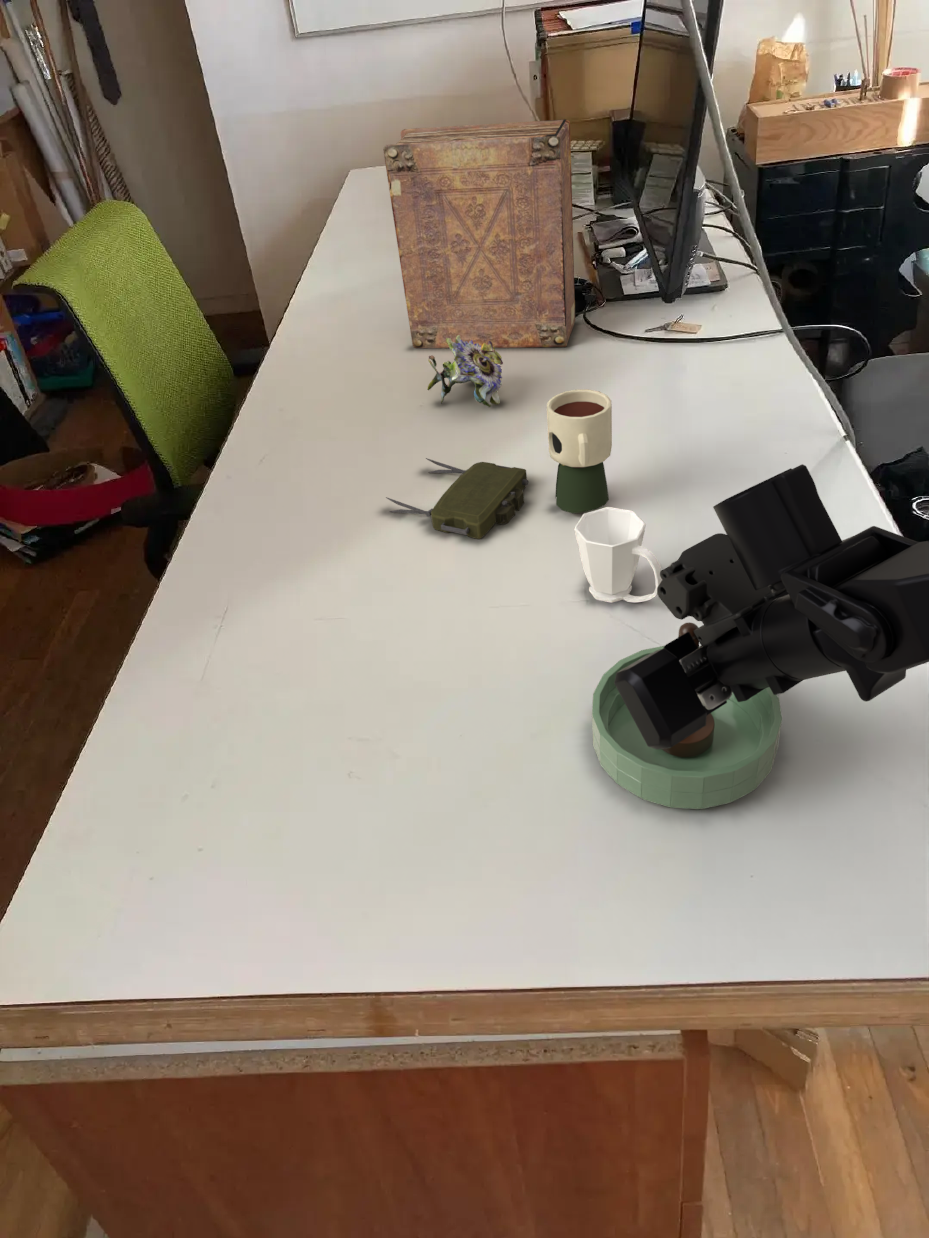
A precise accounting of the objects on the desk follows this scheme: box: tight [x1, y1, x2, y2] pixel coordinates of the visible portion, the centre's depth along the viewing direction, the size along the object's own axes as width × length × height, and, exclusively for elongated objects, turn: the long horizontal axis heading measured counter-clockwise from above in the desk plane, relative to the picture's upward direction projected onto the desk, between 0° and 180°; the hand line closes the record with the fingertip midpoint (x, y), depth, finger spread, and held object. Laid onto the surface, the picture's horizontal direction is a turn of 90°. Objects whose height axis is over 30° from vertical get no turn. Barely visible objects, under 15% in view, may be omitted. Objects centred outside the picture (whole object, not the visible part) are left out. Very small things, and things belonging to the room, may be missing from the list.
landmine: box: [385, 457, 529, 540], centre depth 112 cm, size 14×3×15 cm
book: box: [383, 118, 576, 349], centre depth 141 cm, size 25×9×30 cm, turn 77°
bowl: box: [591, 645, 783, 810], centre depth 78 cm, size 15×15×4 cm
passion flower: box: [427, 335, 504, 408], centre depth 131 cm, size 11×11×12 cm
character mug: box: [546, 388, 613, 514], centre depth 106 cm, size 11×7×13 cm, turn 0°
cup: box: [573, 506, 662, 604], centre depth 93 cm, size 7×10×8 cm
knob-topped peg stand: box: [662, 622, 715, 757], centre depth 75 cm, size 5×5×12 cm
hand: (674, 671), depth 76 cm, fingers closed on knob-topped peg stand, 2 cm apart
